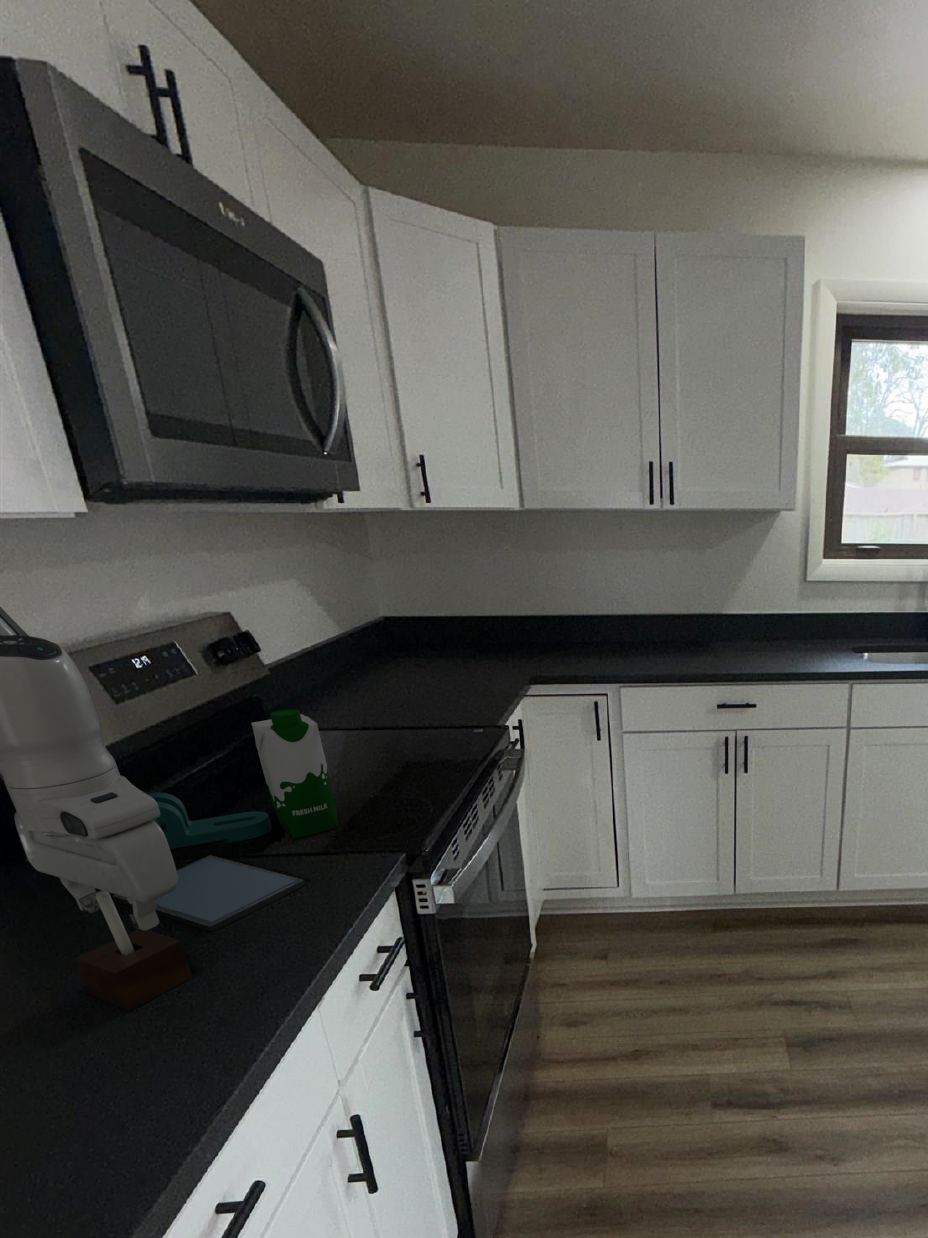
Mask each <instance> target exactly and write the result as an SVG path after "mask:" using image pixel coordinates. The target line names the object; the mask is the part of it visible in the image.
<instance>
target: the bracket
mask: <svg viewBox="0 0 928 1238" xmlns="http://www.w3.org/2000/svg"><path fill="white" fill-rule="evenodd" d="M146 794H147V793H146ZM147 795H149V796H150V797H152V798H153V799H154V800H155V801H156V802H157V804H158V807H159V810H160V816H159V817H158V818H156V819H153V821H154V822H156V823H157V824H158V825H159V826H160V828H161V829H162V831H163V833H164V835H165V837H166V840H167V842H168V845H169V848H170V850H173V849H178V848H184V847H189V846H195V845H202V844H206V843H213V842H217V843H215V844H213V845H211V846H212V847H213V846H214V847H215V846H218V845H219V846H220V845H224V844H230V843H235V842H241V841H242V842H243V841H246V840H251V839H252V840H253V839H256V838H259V837H262V836H265V835H267V834H268V833H269V832H271V831H272V829H273V828H272V823H271V820H270V817H269V813H267V812H265V811H261V810H260V811H257V810H255V811H254V810H253V811H243V812H239V813H232V814H227V815H220V816H215V817H208V818H201V819H196V820H190V819H189V816H188V813H187V809H186V806H185V805H184V803H183V802H182V800H180V799H179V798H177V796H174V795H172V794H170V793H167V792H161V791H158V792H151V793H148V794H147ZM218 841H220V842H218Z"/></svg>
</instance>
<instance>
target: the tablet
mask: <svg viewBox="0 0 928 1238" xmlns="http://www.w3.org/2000/svg"><path fill="white" fill-rule="evenodd" d="M176 871H177V875H178V883H177V886H176V889H175V890H174V891H172V892H170V893H168V894H166V895H164V896H162V897H159V898H157V905H156V910H155V911H156V914H157V916H160V917H163V918H166V919H168V920H172V921H176V922H178V923H181V924H183V925H188V926H191V927H194V928H196V929H200V930H204V931H207V932H209V933H214V932H216V931H217V930H220V929H222V928H224V927H225V926H227V925H230V924H232V923H234V922H235V921H237V920H240V919H242V918H243V917H246V916H248V915H249V914H251V913H253V912H255V911H258V910H260V909H261V908H264V907H265V906H268V905H269V904H271V903H273V902H276V901H277V900H279V899H281V898H283V897H285V896H287V895H289V894H291V893H293V892H295V891H297V890H299V889H301V888H303V887H305V886H306V882H305V879H302V878H298V877H295V876H290V875H287V874H283V873H279V872H275V871H271V870H268V869H264V868H261V867H257V866H254V865H253V866H252V865H250V864H246V863H242V862H238V861H234V860H230V859H227V858H222V857H219V856H216V855H211V854H209V855H207V856H205V857H203V858H200V859H198V860H196V861H193V862H190V863H188V864H186V865H184V866H181V867H179V868H176ZM112 898H113V902H116V903H119V904H121V905H125V906H127V907H132V908H133V904H130V903H129V902H128V900H127V898H126V897H123V896H120V895H116V894H114V895H112Z"/></svg>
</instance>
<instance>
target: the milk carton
mask: <svg viewBox="0 0 928 1238" xmlns="http://www.w3.org/2000/svg"><path fill="white" fill-rule="evenodd" d="M251 728H252V732H253V736H254V741H255V748H256V749H257V752H258V758H259V762H260V765H261V769H262V772H263V777H264V781H265V783H266V787H267V791H268V794H269V797H270V801H271V804H272V807H273V810H274V812H275V815H276V818H277V819H278V822H279V824H280V827H281V828H282V829H283V830H284V831H285V832H286V833H287V834H288V835H289V836H290V837H291V838H292V839H293V840H296V839H300V838H304V837H307V836H312V835H315V834H316V835H317V834H319V833H323V832H327V831H331V830H335V829H339V827H340V826H339V821H338V813H337V805H336V800H335V795H334V790H333V787H332V781H331V777H330V774H329V770H328V765H327V761H326V756H325V751H324V747H323V743H322V740H321V739H322V738H321V736H320V731H319V726H318V723H317V722H316V721H314V720H313V719H312V718H310V717H309V716H306V715H304V714H302V713H301V712H300V710H299V709H297V708H295V709H294V708H288V709H287V708H286V709H279V710H275V711H272V712H271V713H270V719H266V720H260V721H254V722H251Z"/></svg>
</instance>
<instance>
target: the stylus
mask: <svg viewBox="0 0 928 1238" xmlns="http://www.w3.org/2000/svg"><path fill="white" fill-rule="evenodd" d="M97 892H98V893H97V894H96V899H97V901H98V904H99V906H100V908H101V910H100V911H101V913H102V915H103V917H104V919H105V922H106V924H107V925H108V928H109V930H110V932H111V934H112V938H113V939H114V940H115V941H116V944H117V946H118V948H119V950H120V953H121V955H123V956H126V955H128V954H131V953H133V952H135V951H134V948H133V946H132V944H131V942H130V939H129V937H128V935H127V934H128V932H127V930H126V929H125V925H124V923H123V922H122V919H121V917H120V914H119V912H118V910H117V908H116V905H115V903H114V900H113V899H112V898H113V897H112V896H111V893H110V892H106V891H103V890H99V891H97Z"/></svg>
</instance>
